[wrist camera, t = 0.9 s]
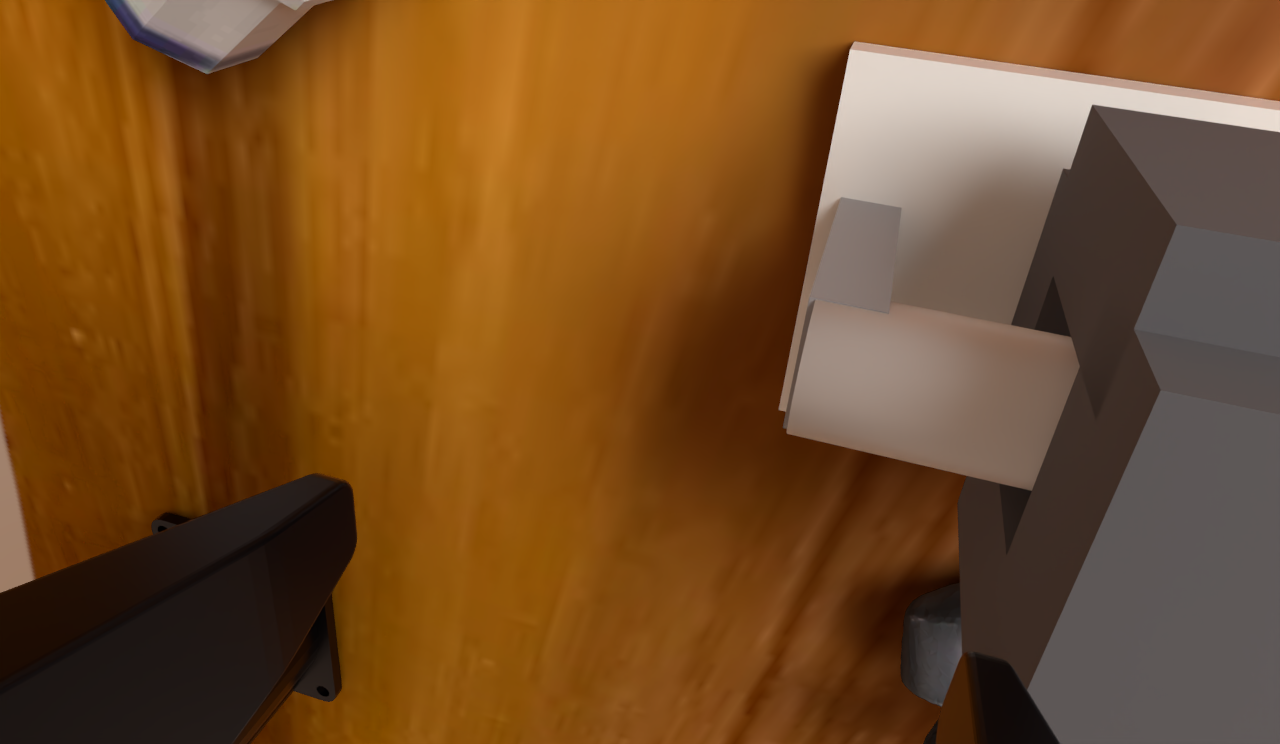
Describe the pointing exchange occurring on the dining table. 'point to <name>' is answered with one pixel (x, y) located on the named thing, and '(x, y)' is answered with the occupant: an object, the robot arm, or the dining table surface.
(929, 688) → the can opener
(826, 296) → the pipe stand
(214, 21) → the light grey long piece
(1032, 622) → the stepped block
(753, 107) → the dining table surface
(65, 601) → the robot arm
